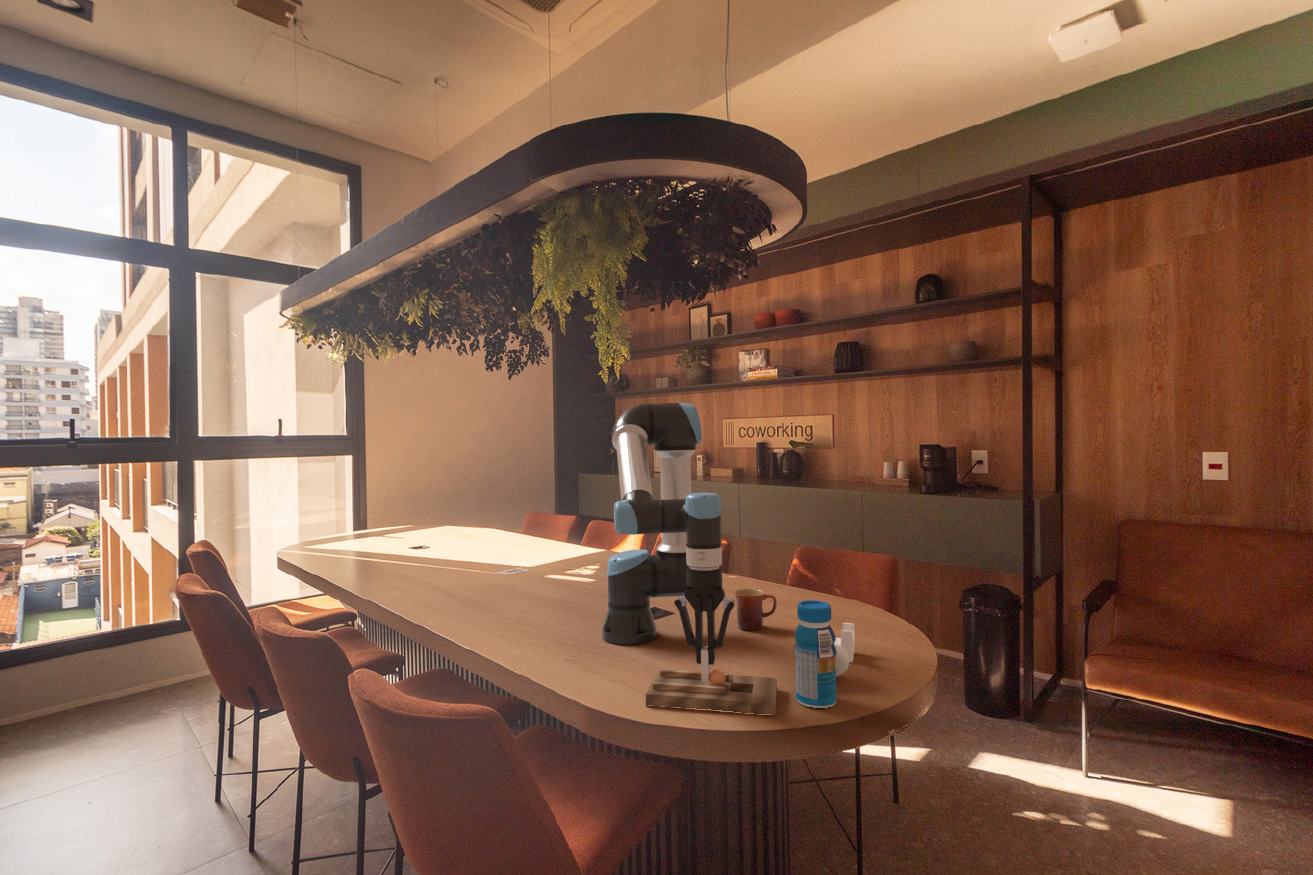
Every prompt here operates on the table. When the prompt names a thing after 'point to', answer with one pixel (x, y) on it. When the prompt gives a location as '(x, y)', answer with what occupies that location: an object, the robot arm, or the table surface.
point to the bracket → (847, 639)
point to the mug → (752, 608)
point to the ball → (717, 678)
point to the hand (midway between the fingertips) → (705, 679)
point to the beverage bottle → (815, 655)
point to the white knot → (841, 660)
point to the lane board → (713, 692)
